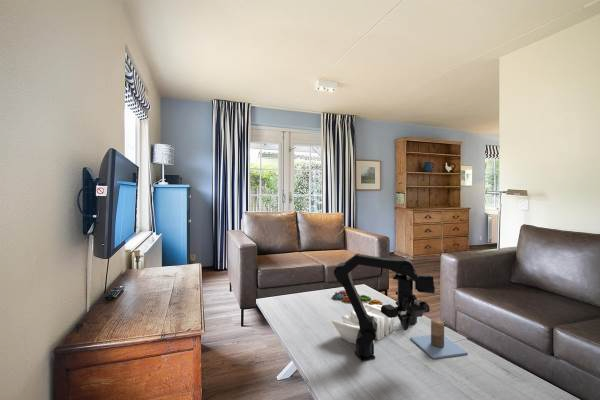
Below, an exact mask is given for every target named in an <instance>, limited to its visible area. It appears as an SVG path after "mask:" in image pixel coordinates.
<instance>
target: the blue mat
mask: <svg viewBox="0 0 600 400" xmlns="http://www.w3.org/2000/svg"><path fill="white" fill-rule="evenodd" d="M410 340H411V341H412V342H413V343H414V344H416V346H417V347H419V348H420V349H421V350H422V352H424V353H425V354H426V355H428V356H429V357H430V358H431V359H432V360H437V359H443V358H444V359H445V358H451V357H460V356H466V355H467V356H468V354H469V353H468V352H467V350H465V349H464V348H462V347H461V346H459V345H458V344H457V343H455V342H454V341H452V340H451V339H450V338H448V337H447V336H445V335H444V347H442V348H439V347H435V346H433V345H432V344H431V334H427V335H419V336H411V337H410Z"/></svg>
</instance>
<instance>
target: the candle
mask: <svg viewBox="0 0 600 400" xmlns="http://www.w3.org/2000/svg"><path fill="white" fill-rule="evenodd" d="M413 294H414V295H415V281H413ZM416 301H418V298H417V297H416ZM416 323H418V317H416V318H412V319H411V321H410V324H409V325H412V326H414V325H415V326H416Z"/></svg>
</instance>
